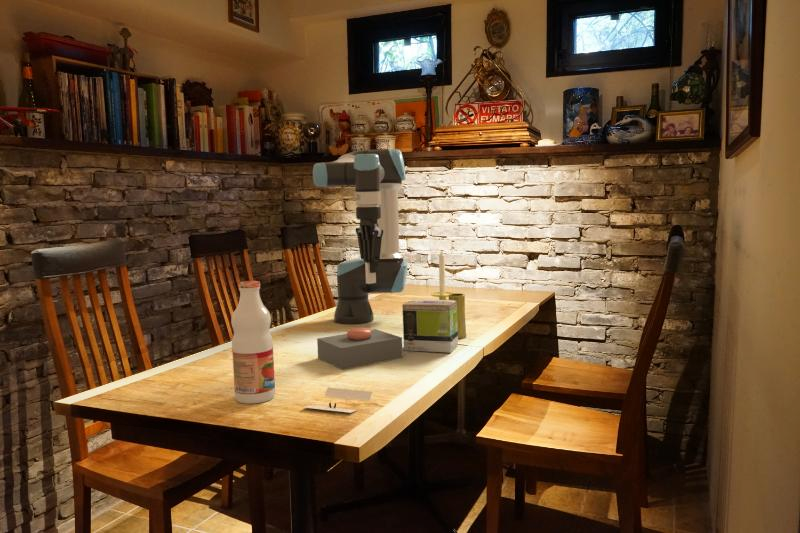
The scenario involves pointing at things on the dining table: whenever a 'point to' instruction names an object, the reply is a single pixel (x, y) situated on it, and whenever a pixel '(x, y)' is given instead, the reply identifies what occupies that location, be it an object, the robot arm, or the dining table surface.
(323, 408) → the beige flat rectangular pieces
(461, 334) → the vase
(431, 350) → the tea box
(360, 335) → the button
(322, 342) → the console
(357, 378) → the dining table surface
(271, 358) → the fruit juice
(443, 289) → the candle
